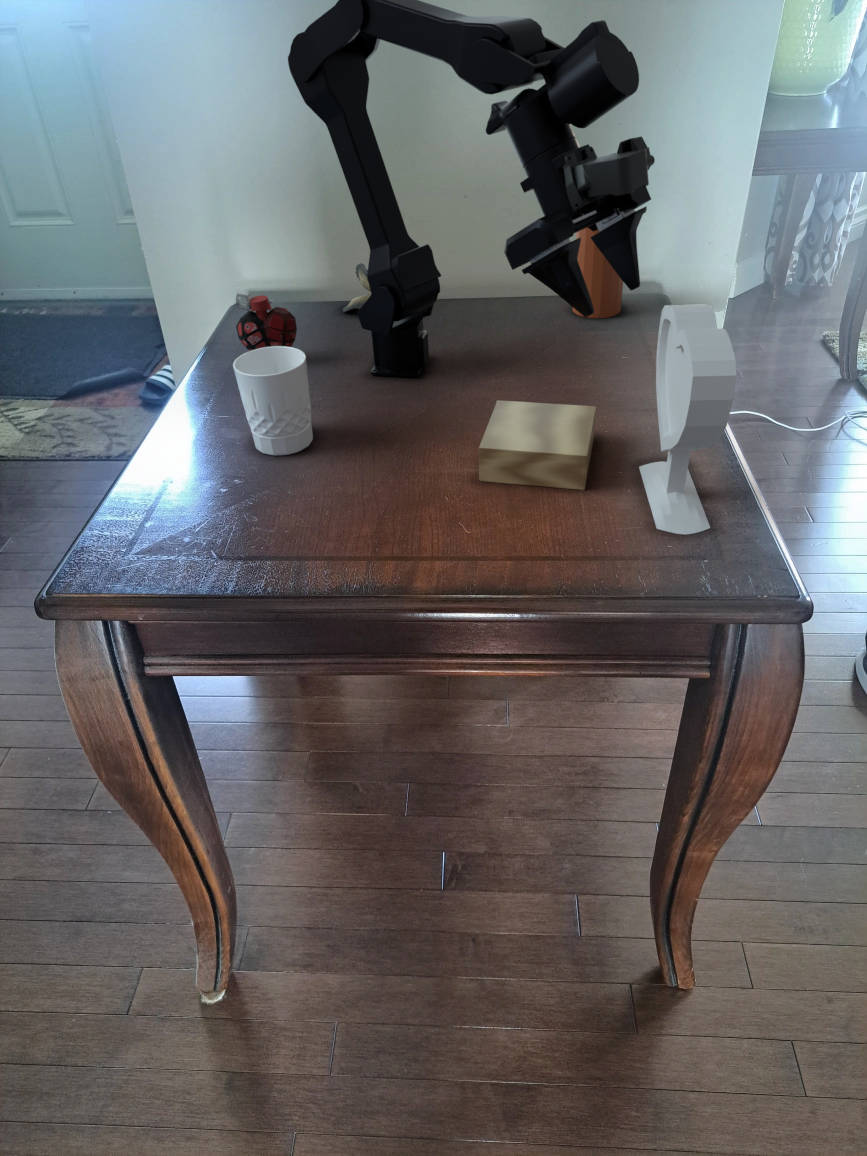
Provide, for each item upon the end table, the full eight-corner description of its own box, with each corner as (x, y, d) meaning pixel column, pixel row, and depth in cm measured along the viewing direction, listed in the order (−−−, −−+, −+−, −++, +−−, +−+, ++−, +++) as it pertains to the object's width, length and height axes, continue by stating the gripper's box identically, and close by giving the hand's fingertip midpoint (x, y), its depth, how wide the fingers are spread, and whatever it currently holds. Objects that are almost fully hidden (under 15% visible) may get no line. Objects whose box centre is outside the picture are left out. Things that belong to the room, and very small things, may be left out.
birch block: (479, 481, 87) (478, 447, 85) (497, 432, 96) (497, 400, 93) (584, 490, 85) (587, 455, 82) (593, 438, 93) (596, 406, 91)
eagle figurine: (410, 295, 130) (360, 279, 132) (402, 265, 123) (350, 248, 125) (389, 335, 128) (338, 317, 130) (380, 306, 121) (327, 289, 123)
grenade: (244, 359, 116) (229, 287, 110) (301, 353, 117) (290, 281, 110) (243, 374, 112) (228, 300, 106) (302, 367, 113) (291, 294, 106)
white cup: (305, 461, 92) (291, 377, 86) (239, 456, 94) (221, 374, 88) (326, 427, 98) (315, 347, 92) (264, 424, 100) (248, 344, 94)
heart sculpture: (636, 457, 90) (655, 290, 78) (683, 456, 89) (709, 289, 78) (660, 540, 77) (687, 357, 66) (715, 540, 77) (751, 355, 66)
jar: (570, 317, 122) (575, 221, 114) (575, 300, 128) (580, 207, 119) (618, 319, 121) (627, 222, 112) (621, 302, 126) (630, 208, 118)
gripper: (556, 126, 70) (630, 298, 74) (662, 92, 81) (722, 244, 85) (471, 189, 79) (541, 341, 82) (577, 151, 90) (634, 287, 93)
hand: (613, 301), depth 86 cm, fingers open, 9 cm apart
